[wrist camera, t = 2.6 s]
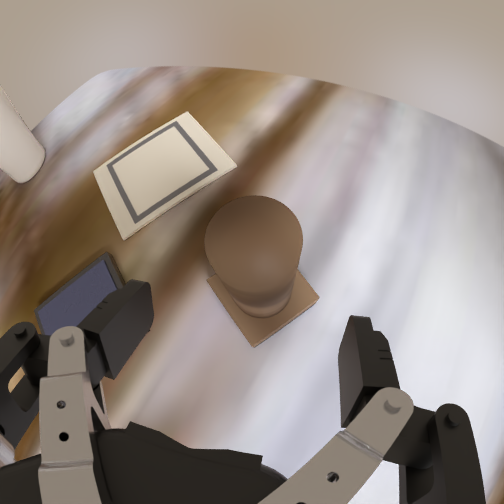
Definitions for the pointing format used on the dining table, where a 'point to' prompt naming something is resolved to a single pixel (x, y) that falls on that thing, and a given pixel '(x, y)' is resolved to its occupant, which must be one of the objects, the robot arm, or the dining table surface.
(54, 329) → the ink pad
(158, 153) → the label card
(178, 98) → the dining table surface
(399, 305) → the dining table surface
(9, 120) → the drinking glass
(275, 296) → the stamp
